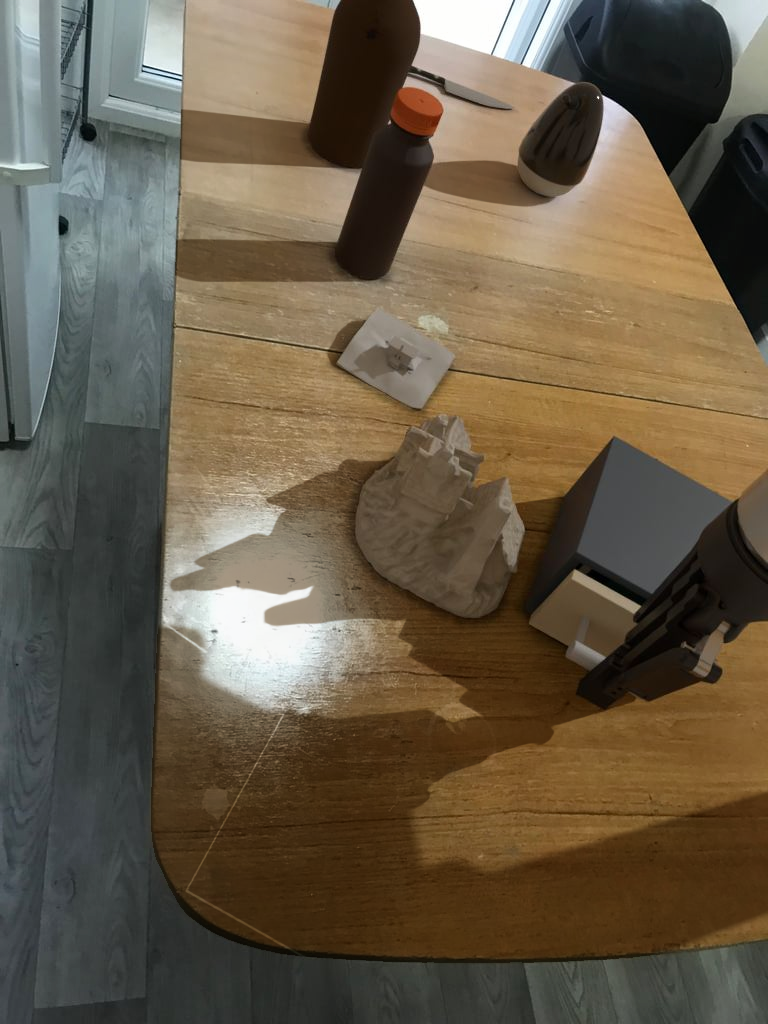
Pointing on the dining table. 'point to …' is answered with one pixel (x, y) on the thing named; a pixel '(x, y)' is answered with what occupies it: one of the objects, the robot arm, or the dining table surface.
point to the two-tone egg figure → (562, 141)
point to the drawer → (585, 617)
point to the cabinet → (625, 522)
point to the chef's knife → (462, 90)
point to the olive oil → (362, 75)
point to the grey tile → (396, 359)
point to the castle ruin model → (440, 522)
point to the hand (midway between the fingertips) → (592, 695)
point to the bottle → (389, 185)
